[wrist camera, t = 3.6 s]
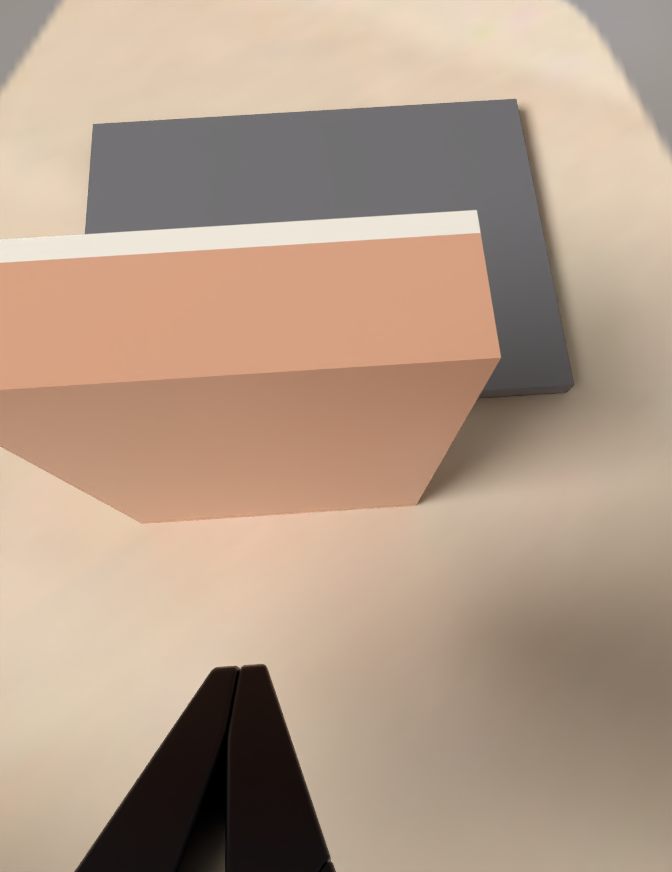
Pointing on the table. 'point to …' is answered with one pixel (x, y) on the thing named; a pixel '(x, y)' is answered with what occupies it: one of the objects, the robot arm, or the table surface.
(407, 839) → the table surface
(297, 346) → the tile
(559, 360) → the mat
